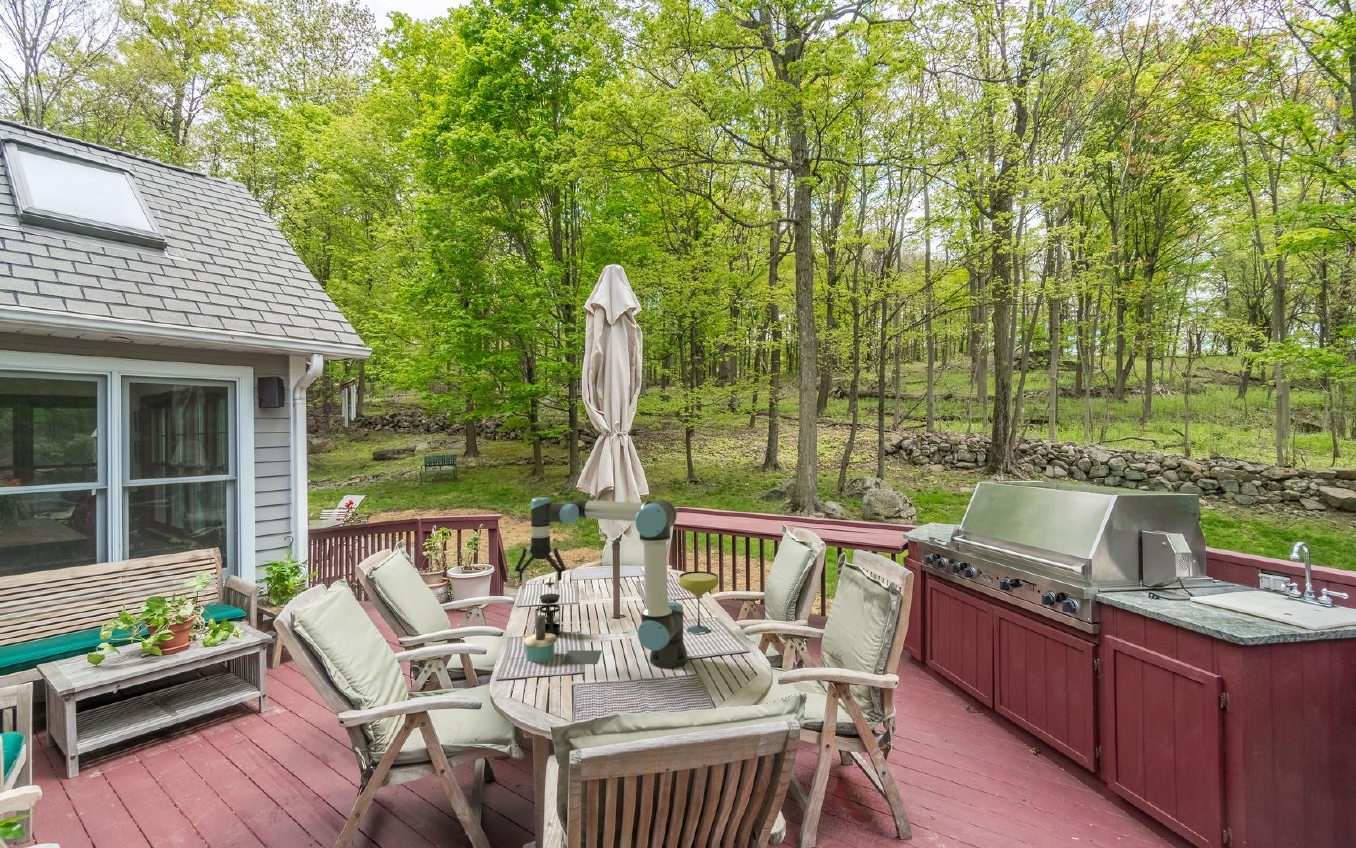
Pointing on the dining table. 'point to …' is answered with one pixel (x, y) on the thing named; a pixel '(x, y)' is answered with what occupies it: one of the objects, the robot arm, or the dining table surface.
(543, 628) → the lid
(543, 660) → the bowl
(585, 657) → the mat
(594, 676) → the dining table surface
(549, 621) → the french press
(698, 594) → the cocktail glass
